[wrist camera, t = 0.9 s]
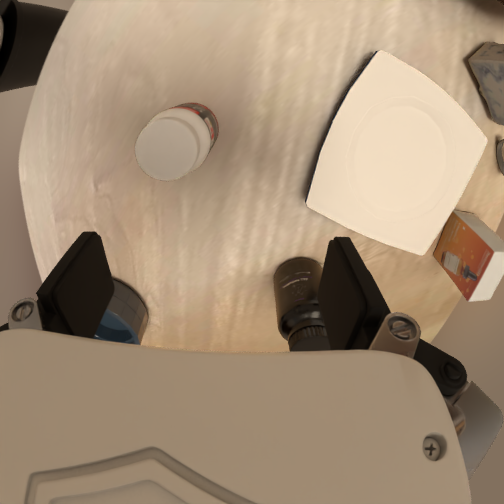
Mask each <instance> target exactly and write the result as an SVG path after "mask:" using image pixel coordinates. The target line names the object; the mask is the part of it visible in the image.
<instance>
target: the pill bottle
mask: <svg viewBox="0 0 504 504" xmlns="http://www.w3.org/2000/svg"><path fill="white" fill-rule="evenodd" d="M217 136H218V122H217V119H216V117H215V115H214V114H213V112H212V111H211V110H210V109H208V108H207V107H205V106H204V105H201V104H198V103H185V104H181V105H178V106H175V107H172V108H169V109H166V110H164V111H162V112H160V113H158V114H157V115H156V116H154V117H153V118H152V119H151V120H150V121H149V123H148V124H147V126H146V127H145V128H144V129H143V130H142V131H141V132H140V134H139V136H138V138H137V141H136V144H135V156H136V160H137V162H138V164H139V166H140V168H141V169H142V170H143V171H144V172H145V173H146V174H147V175H149V176H150V177H152V178H154V179H157V180H161V181H173V180H176V179H179V178H181V177H183V176H184V175H186V174H187V173H190V172H192V171H194V170H195V169H197V168H198V167H199V166H200V165H201V164H202V163H203V162H204V160H205V159H206V157H207V156H208V154H209V152H210V150H211V148H212V147H213V145H214V143H215V141H216V139H217Z"/></svg>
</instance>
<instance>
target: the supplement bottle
mask: <svg viewBox="0 0 504 504" xmlns="http://www.w3.org/2000/svg"><path fill="white" fill-rule="evenodd" d="M322 271H323V269H322V267H321V266H320V265H319V264H318V263H316V262H315V261H313V260H310V259H305V258H298V259H293V260H290V261H288V262H286V263H284V264H283V265H282V266H281V267H280V268H279V269H278V270H277V272H276V274H275V276H274V292H275V302H276V313H277V324H278V330H279V332H280V334H281V335H282V337H283V338H284V339H286V340H287V341H288V344H289V349H290V352H302V351H331V348H330V344H329V340H328V336H327V332H326V329H325V325H324V321H323V318H322V314H321V310H320V307H319V303H318V299H317V292H318V288H319V284H320V280H321V275H322Z"/></svg>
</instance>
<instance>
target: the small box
mask: <svg viewBox="0 0 504 504" xmlns="http://www.w3.org/2000/svg"><path fill="white" fill-rule="evenodd" d="M433 255H434V257H435V258H436V260H437V261H438V262H439V263H440V265H441V266H442V267H443V268H444V270H445V271H446V272H447V274H448V275H449V276H450V278H451V279H452V280H453V282H454V283H455V284H456V286H457V287H458V288H459V290H460V291H461V293H462V294H463V295H464V297H465V298H466V300H467V301H480V300H489V299H491V297H492V295H493V293H494V291H495V289H496V287H497V285H498V284H499V282H500V280H501V278H502V276H503V275H504V241H503V240H502V239H501V238H500V237H499V236H498V235H497V234H496V233H495V232H494V231H492V230H491V229H490V228H489V227H488V226H487V225H486V224H485V223H484V222H483V221H481V220H480V219H479V218H478V217H477V216H476V215H475V214H472V213H467V212H462V211H457V210H453V211H452V213H451V214H450V216H449V218H448V220H447V223H446V225H445V228H444V231H443V233H442V236H441V238H440V241H439V243H438V245H437V248H436V250H435V252H434V254H433Z"/></svg>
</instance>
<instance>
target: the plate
mask: <svg viewBox="0 0 504 504" xmlns="http://www.w3.org/2000/svg"><path fill="white" fill-rule="evenodd" d="M486 145H487V138H486V136H485V135H484V134H483V132H482V131H481V130H480V129H479V127H478V126H477V125H476V124H475V122H474V121H473V120H472V119H471V117H470V116H469V115H468V114H467V113H466V112H465V110H464V109H463V108H462V107H461V106H460V105H459V104H458V103H457V102H456V101H455V100H454V99H453V98H452V97H451V96H450V95H449V94H448V93H447V92H445V91H444V90H443V89H442V88H441V87H440V86H438V85H437V84H436V83H435V82H433V81H432V80H431V79H429V78H428V77H427V76H425V75H424V74H423V73H421V72H420V71H418V70H416V69H415V68H413V67H412V66H410V65H408V64H407V63H405V62H403V61H401V60H400V59H398V58H396V57H394V56H392V55H391V54H389V53H387V52H385V51H383V50H379V51H376V52H375V53H374V55H373V56H372V58H371V59H370V60H369V62H368V63H367V65H366V66H365V67H364V69H363V70H362V72H361V73H360V74H359V76H358V77H357V79H356V80H355V81H354V83H353V84H352V86H351V87H350V88H349V90H348V92H347V93H346V95H345V97H344V99H343V101H342V103H341V105H340V106H339V108H338V110H337V112H336V114H335V116H334V118H333V120H332V122H331V124H330V127H329V129H328V132H327V134H326V137H325V139H324V142H323V144H322V147H321V149H320V151H319V155H318V159H317V162H316V166H315V169H314V173H313V176H312V179H311V183H310V186H309V190H308V193H307V196H306V200H305V202H306V205H307V207H308V208H310V209H312V210H314V211H316V212H318V213H320V214H322V215H324V216H326V217H328V218H329V219H331V220H333V221H335V222H337V223H339V224H341V225H342V226H344V227H346V228H349V229H351V230H353V231H355V232H357V233H360V234H362V235H364V236H366V237H369V238H371V239H374V240H376V241H379V242H382V243H384V244H387V245H390V246H393V247H396V248H399V249H402V250H405V251H408V252H411V253H415V254H418V255H421V256H422V255H424V254H425V253H426V252H427V250H428V249H429V247H430V246H431V244H432V243H433V241H434V240H435V238H436V237H437V235H438V233H439V232H440V230H441V229H442V227H443V226H444V224H445V222H446V221H447V219H448V218H449V216H450V214H451V213H452V211H453V209H454V208H455V206H456V204H457V203H458V201H459V199H460V197H461V196H462V194H463V192H464V190H465V188H466V186H467V184H468V182H469V180H470V178H471V176H472V174H473V172H474V170H475V168H476V166H477V164H478V162H479V160H480V158H481V156H482V153H483V151H484V149H485V147H486Z"/></svg>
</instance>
